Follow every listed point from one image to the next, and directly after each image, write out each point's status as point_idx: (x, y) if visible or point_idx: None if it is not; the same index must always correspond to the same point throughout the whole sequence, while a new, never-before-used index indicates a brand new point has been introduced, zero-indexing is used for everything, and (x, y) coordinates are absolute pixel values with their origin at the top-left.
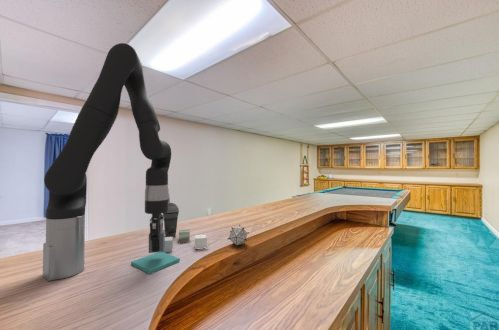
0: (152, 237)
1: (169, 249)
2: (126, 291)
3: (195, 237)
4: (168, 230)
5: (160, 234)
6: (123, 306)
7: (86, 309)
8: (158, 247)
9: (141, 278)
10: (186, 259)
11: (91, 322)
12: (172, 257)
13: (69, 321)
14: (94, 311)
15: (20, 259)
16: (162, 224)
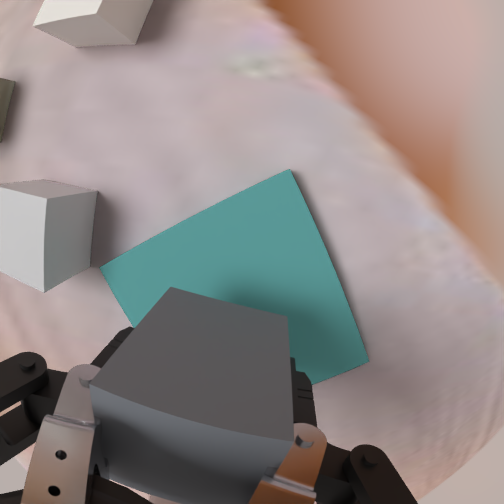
0: (356, 500)
1: (85, 209)
2: (435, 411)
3: (74, 14)
4: None
5: (281, 456)
6: (493, 401)
7: (440, 461)
8: (293, 376)
9: (382, 380)
10: (274, 118)
11: (488, 437)
12: (242, 213)
13: (454, 468)
14: (460, 446)
15: None
16: (88, 488)
